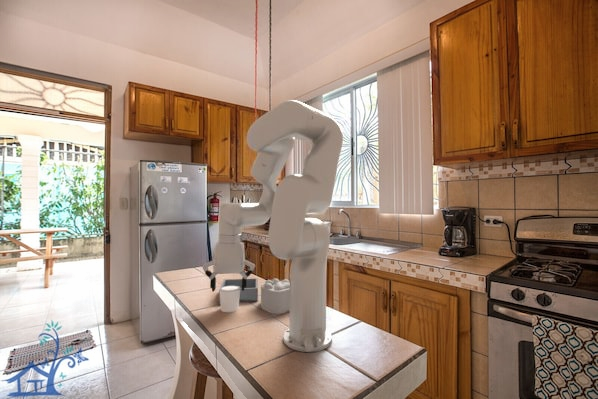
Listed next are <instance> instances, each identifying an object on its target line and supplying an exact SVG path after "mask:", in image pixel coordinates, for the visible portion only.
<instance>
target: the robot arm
mask: <svg viewBox="0 0 598 399" xmlns="http://www.w3.org/2000/svg"><path fill="white" fill-rule="evenodd" d="M342 130H343V129H342V128H341V125H340V124H339V123H338V121H336V120H335V119H334V118H333V117H331V116H329V115H328V114H327V113H324V112H323V111H321V110H318V109H316V108H314V107H312V106H310V105H308V104H305V103H303V102H301V101H298V100H295V99H289V100H286V101H285V100H284V101H283V102H281V103H280V104H277V105H276V106H275V107H273V108H271V109H270V110H269V111H267V112H265V113H264V114H263V115H261V116H259V117H258V118H257V119H256V120H254V122H253V123H252V124H251V125H250V127H249V128H248V131H247V133H246V144H247V146H248V148H249V149H250V150H252V151H254V152H258V153H257V155H256V158H255V159H254V162H253V164H252V166H251V169H250V176H252V178H253V179H254V180H255V181H257V182H258V183H259V184H261V185H262V194H261V196H260V199H259V201H257V202H223V203H221V204H220V205H219V212H218V213H219V214H218V215H219V216H218V242H217V243H216V244H215V249H214V256H213V259H212V260H210V261H208V262H205V263H204V264H203V265H202V266H201V268H202V269H203V272H204V273H205V275H206V276H207V277H208V278H209V280H210V284H209V285H210V286H209V288H210V289H211V292H213V293H214V292H215V291H216V286H217V284H216V283H217V278H216V276H217V275H224V274H225V275H229V274H233V275H234V274H240V275H241V276H242V277H241V279H242V291H244V288H246V281H247V279H248V278H249V276H251V275H252V274H253V271H254V270H255V268H256V264H255V263H253V262H251V261H249V260H247V259H246V255H245V254H246V253H245V252H246V250H245V249H246V248H245V245H244V244H245V242H242V241H246V240H247V237H246V235H243V234H242V233H243V232H242V231H243V227H251V226H252V227H254V226H262V225H264V224H266V223H267V222H268V221H270V222H269V227H268V234H267V235H268V238H267V241H268V247H269V249H270V251H271V253H272V255H274V256H275V257H276V258H277V259H280V260H288V261H289V260H291V264H290V268H289V282H290V311H289V318H288V319H289V323H288V326H289V327H288V329H286V330H285V331H284V333H283V337H282V338H283V343H284V344H285V345H286V347H288V348H289V349H292V350H295V351H298V352H302V353H303V352H304V353H312V352H313V353H314V352H319V351H323V350H324V349H327V348H328V347H329V346H330V345H331V344H332V342H333V335H332V333H331V332H330V331H329V330H328V329H327V263H328V261H327V260H328V254H329V248H330V243H331V238H330V237H331V236H330V230H329V228H328V227H327V225H326V224H325V222H324V221H321V220H320V219H318V218H315V217H306V215H313V214H323V213H324V212H326V211H327V210H328V209H329V208H330V207H331V203H332V200H333V193H334V189H335V184H336V183H335V182H336V178H337V172H338V164H339V160H340V157H341V151H342V147H343V141H344V134H343V131H342ZM296 139H297V140H299V141H305V142H307V143H310V144H312V145H311V147H310V148H309V149H308V151H307V153H306V156H305V159H304V161H303V169H302V172H301V174H299V173H293V174H288V175H286V176H284V177H283V179H281V180H280V182H279V183H278V182H277V181H278V179H279V178H280V175H281V173H282V171H283V169H284V167H285V165H286V163H287V161H288V159H289V157H290V155H291V152H292V150H293V149H294V147H295V146H294V145H295V143H296V141H295V140H296ZM277 183H278V185H277ZM211 266H212V270H213V272H212V271H211V270H210V268H209V267H211ZM246 266H248V267H250V268H249V269H248V270H247V271H245V267H246Z"/></svg>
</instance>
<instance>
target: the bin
mask: <svg viewBox="0 0 598 399" xmlns="http://www.w3.org/2000/svg"><path fill="white" fill-rule="evenodd" d="M258 280H259V278H257V277H256V278H247V281H246V288H244V291H242V278H229V279H225V278H224V279H223V281H222V283H221V285H220V286H219V289H220V288H221V287H224V286H231V285H234V286H239V287H240V297H239V303H242V302H243V303H246V302H259V294H258V293H259V283H258V282H259V281H258ZM218 302H219V304H221V303H220V291H219V292H218Z"/></svg>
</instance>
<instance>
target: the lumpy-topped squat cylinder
mask: <svg viewBox="0 0 598 399" xmlns="http://www.w3.org/2000/svg"><path fill="white" fill-rule="evenodd" d="M260 308H261V309H263V310H264V311H266V312H268V313H271V314H272V315H273V314H275V315H281V314H284V313H288V312H290V279H287V278H285V279H282V280H280V279H279V278H276V277H275V278H272V279H267V280H266V281H264V282H262V283H261V285H260Z"/></svg>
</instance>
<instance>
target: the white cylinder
mask: <svg viewBox="0 0 598 399" xmlns="http://www.w3.org/2000/svg"><path fill="white" fill-rule="evenodd" d="M220 287H221V286H220ZM220 287H219V291H220V303H219V304H220V310H221V312H223V313H233V312H236V311H238V310H239V305H240V302H239V297H240V287H239V286H234V285H231V286H224V287H221V288H220Z"/></svg>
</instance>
